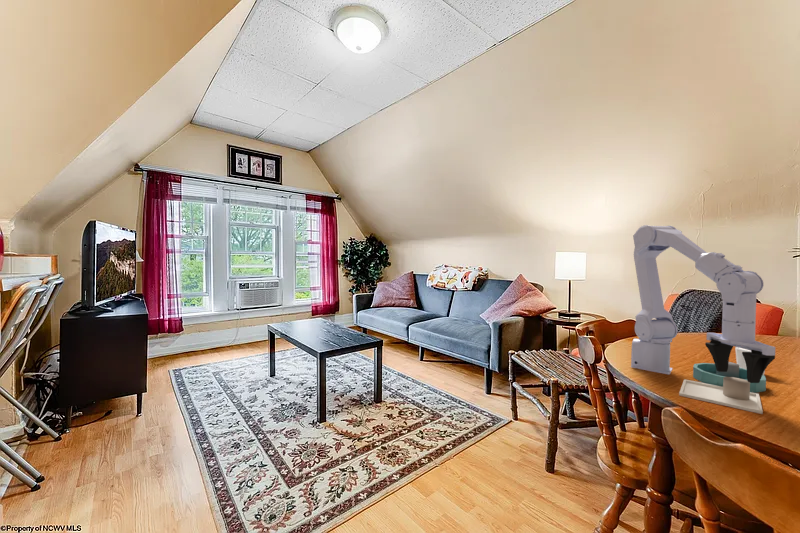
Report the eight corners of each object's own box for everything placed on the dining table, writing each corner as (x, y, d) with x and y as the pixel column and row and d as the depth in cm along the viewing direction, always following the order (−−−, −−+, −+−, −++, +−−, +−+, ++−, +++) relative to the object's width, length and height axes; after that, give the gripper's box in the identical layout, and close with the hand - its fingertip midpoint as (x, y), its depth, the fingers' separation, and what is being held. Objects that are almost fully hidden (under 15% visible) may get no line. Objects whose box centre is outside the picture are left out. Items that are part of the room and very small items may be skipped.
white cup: (728, 368, 105) (728, 346, 104) (748, 368, 105) (748, 346, 105) (753, 376, 98) (753, 352, 98) (774, 376, 98) (775, 352, 98)
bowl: (691, 383, 92) (691, 371, 92) (695, 371, 102) (695, 360, 102) (767, 399, 82) (767, 385, 82) (763, 383, 92) (763, 371, 92)
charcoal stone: (727, 380, 92) (727, 366, 92) (711, 374, 96) (711, 360, 96) (743, 380, 92) (744, 366, 92) (727, 374, 96) (727, 360, 96)
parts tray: (679, 397, 83) (679, 392, 83) (683, 383, 92) (684, 379, 92) (762, 416, 73) (762, 411, 73) (758, 398, 82) (758, 393, 82)
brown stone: (722, 396, 82) (723, 380, 82) (723, 391, 86) (723, 375, 85) (749, 402, 79) (750, 385, 79) (749, 396, 82) (749, 380, 82)
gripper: (695, 316, 89) (694, 367, 89) (754, 327, 74) (752, 388, 75) (721, 316, 89) (720, 366, 89) (785, 327, 75) (783, 388, 75)
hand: (736, 376), depth 82 cm, fingers open, 7 cm apart
